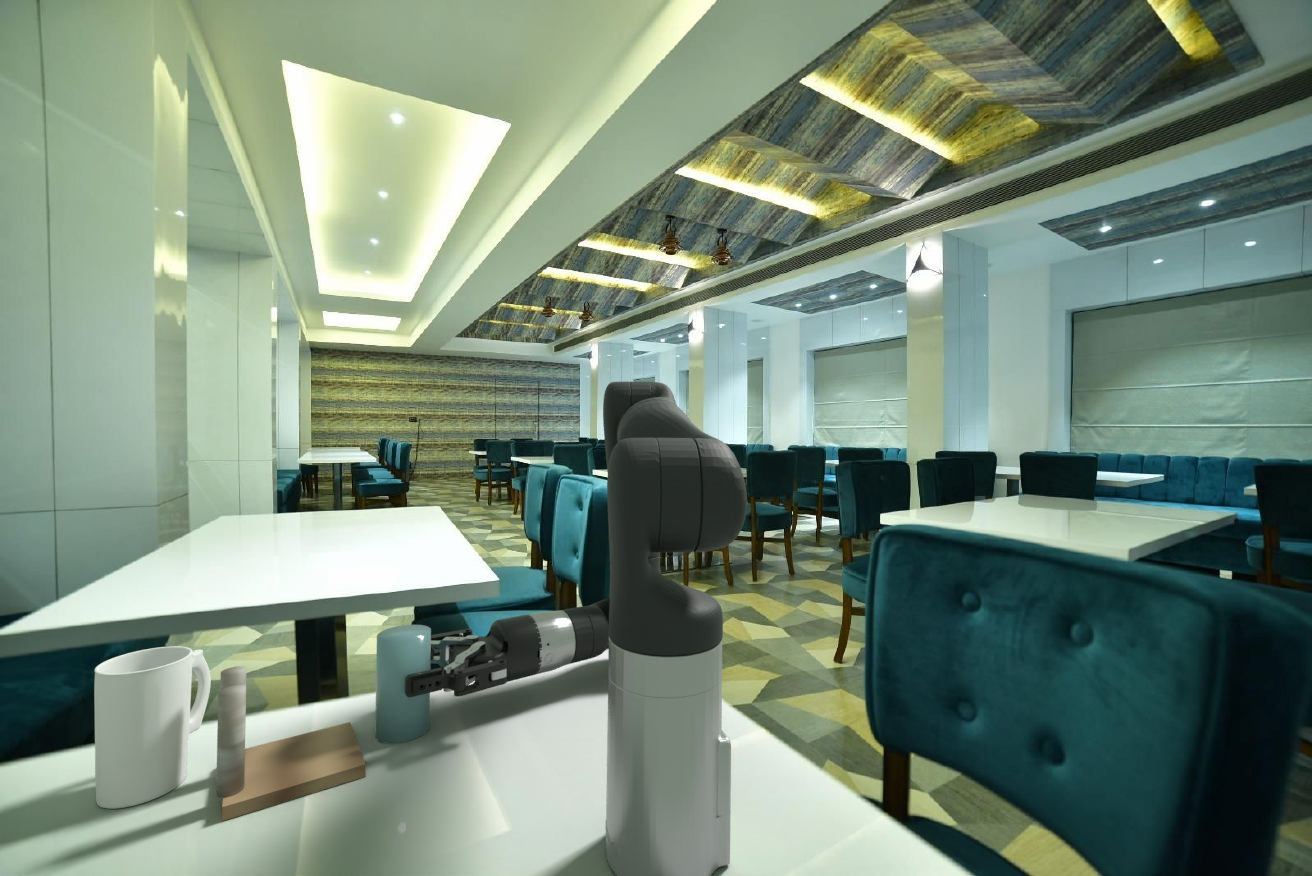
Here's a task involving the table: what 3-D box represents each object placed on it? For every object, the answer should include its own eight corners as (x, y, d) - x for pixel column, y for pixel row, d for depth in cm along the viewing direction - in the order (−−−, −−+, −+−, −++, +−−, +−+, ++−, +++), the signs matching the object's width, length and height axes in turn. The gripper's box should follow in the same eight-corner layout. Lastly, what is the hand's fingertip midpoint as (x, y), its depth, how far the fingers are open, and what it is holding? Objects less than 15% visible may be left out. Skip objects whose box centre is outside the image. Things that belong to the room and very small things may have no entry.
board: (350, 732, 62) (351, 641, 62) (365, 776, 54) (367, 671, 54) (219, 767, 55) (221, 664, 55) (214, 823, 47) (216, 703, 47)
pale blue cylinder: (432, 715, 66) (433, 623, 66) (426, 739, 61) (428, 639, 61) (380, 721, 65) (382, 626, 65) (370, 746, 59) (371, 643, 59)
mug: (137, 815, 48) (140, 676, 48) (69, 808, 49) (72, 672, 49) (237, 751, 58) (239, 636, 58) (179, 746, 59) (181, 633, 59)
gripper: (511, 601, 78) (385, 622, 68) (556, 630, 66) (412, 660, 57) (510, 655, 78) (384, 684, 68) (556, 693, 66) (411, 734, 57)
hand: (397, 673), depth 62 cm, fingers open, 8 cm apart
